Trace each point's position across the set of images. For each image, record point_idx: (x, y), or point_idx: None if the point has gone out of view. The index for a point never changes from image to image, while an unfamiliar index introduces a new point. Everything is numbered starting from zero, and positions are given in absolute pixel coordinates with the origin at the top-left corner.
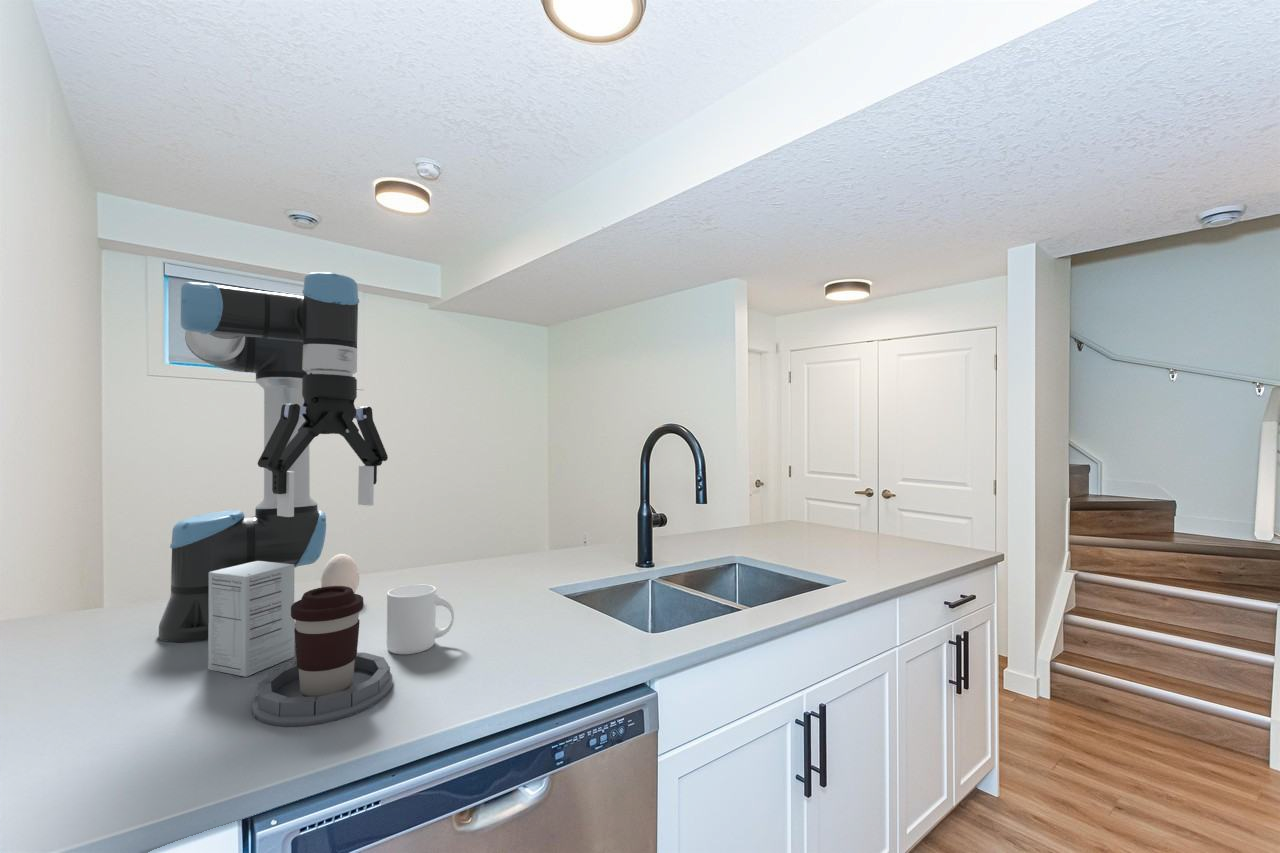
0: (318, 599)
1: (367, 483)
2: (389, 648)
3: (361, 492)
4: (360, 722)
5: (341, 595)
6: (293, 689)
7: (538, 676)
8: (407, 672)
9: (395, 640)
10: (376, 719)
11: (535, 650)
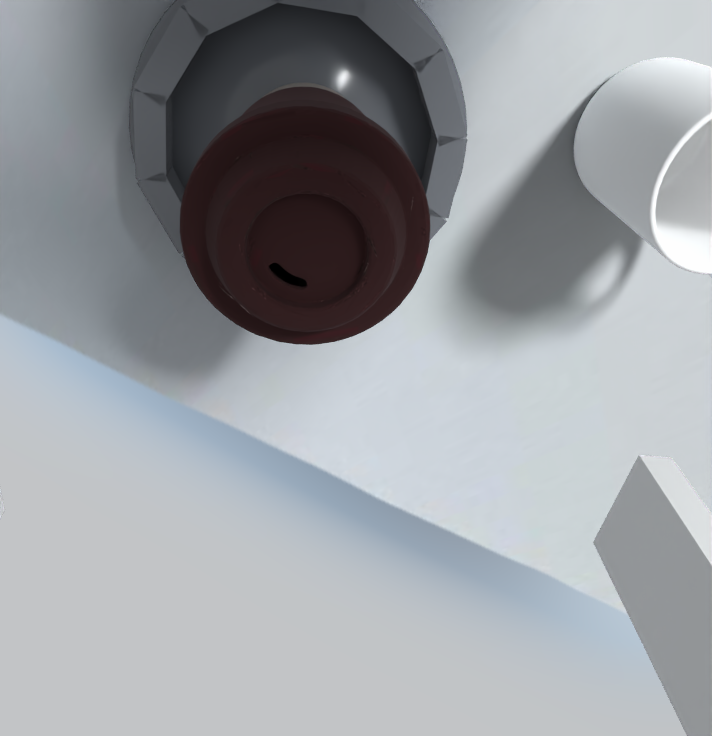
0: (227, 288)
1: (682, 678)
2: (587, 108)
3: (672, 556)
4: None
5: (293, 329)
6: (261, 66)
7: (507, 485)
8: (469, 245)
9: (587, 145)
10: (255, 335)
11: (637, 429)
